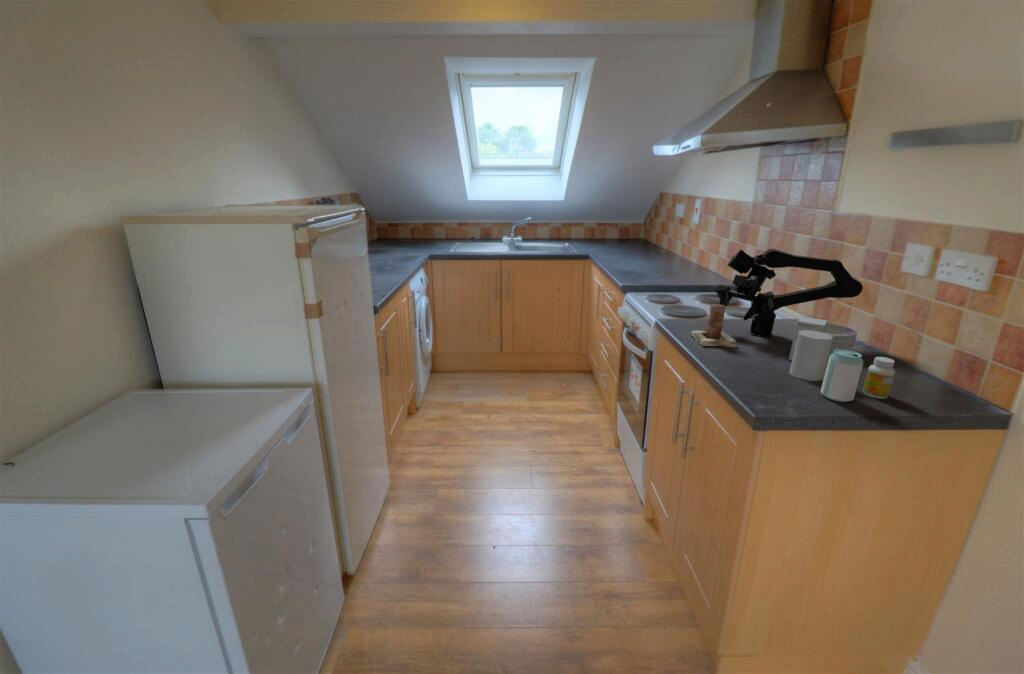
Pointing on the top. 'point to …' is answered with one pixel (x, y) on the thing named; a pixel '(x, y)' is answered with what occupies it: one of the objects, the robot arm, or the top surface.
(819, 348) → the cup
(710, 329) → the cherry wood peg
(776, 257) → the robot arm
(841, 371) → the can
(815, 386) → the top surface
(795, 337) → the supplement box
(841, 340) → the paper bowls
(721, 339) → the birch hole board
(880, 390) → the supplement bottle
